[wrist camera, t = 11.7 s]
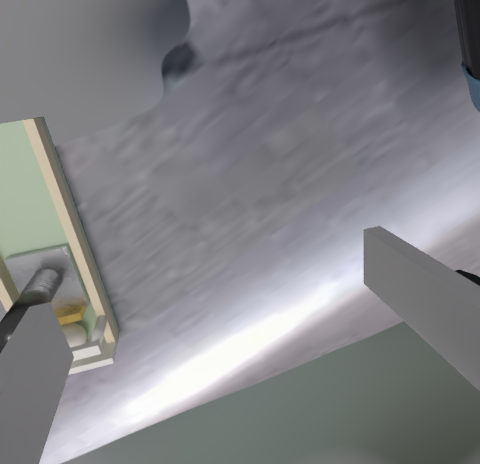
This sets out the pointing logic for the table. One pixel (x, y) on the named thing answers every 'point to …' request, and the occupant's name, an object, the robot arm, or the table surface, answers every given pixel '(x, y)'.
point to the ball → (74, 334)
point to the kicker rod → (45, 287)
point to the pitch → (49, 230)
